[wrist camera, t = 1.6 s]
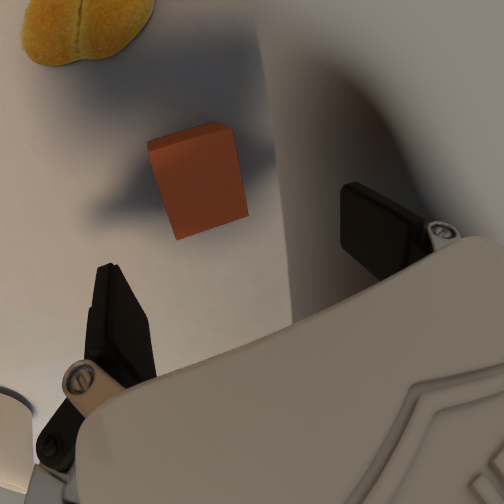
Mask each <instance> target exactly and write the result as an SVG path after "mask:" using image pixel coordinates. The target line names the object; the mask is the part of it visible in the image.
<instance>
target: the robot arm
mask: <svg viewBox="0 0 504 504" xmlns="http://www.w3.org/2000/svg"><path fill="white" fill-rule="evenodd" d="M340 209H341V210H340V211H341V212H340V219H341V220H340V221H341V222H340V223H341V224H340V243H341V246H342V248H343V249H344V250H345V251H346V252H347V253H349V254H350V255H351V256H352V257H353V258H354V259H355V260H357V261H358V262H359V263H360V264H361V265H363V266H364V267H365V268H366V269H367V270H368V271H369V272H370V273H372V274H373V275H374V276H375V277H376V278H377V279H378V280H379V281H380V282H379V283H377V284H375V285H373V286H371V287H369V288H367V289H365V290H363V291H361V292H359V293H358V294H356V295H354V296H352V297H350V298H348V299H345V300H344V301H341V302H339V303H337V304H335V305H333V306H331V307H329V308H327V309H325V310H323V311H321V312H319V313H316V314H314V315H312V316H310V317H308V318H305V319H303V320H301V321H299V322H297V323H294V324H292V325H290V326H288V327H285V328H283V329H281V330H278V331H276V332H274V333H271V334H269V335H267V336H264V337H262V338H260V339H257V340H255V341H252V342H250V343H247V344H245V345H242V346H240V347H237V348H235V349H232V350H229V351H227V352H224V353H222V354H219V355H216V356H214V357H211V358H208V359H206V360H203V361H200V362H197V363H195V364H192V365H189V366H186V367H183V368H181V369H178V370H175V371H172V372H169V373H167V374H164V375H161V376H158V377H157V376H156V370H155V364H154V358H153V351H152V345H151V338H150V330H149V323H148V319H147V317H146V314H145V313H144V311H143V309H142V308H141V306H140V304H139V302H138V301H137V299H136V297H135V295H134V293H133V292H132V290H131V288H130V286H129V284H128V282H127V281H126V279H125V277H124V275H123V273H122V271H121V269H120V267H119V266H118V265H113V264H112V263H109V264H106V265H103V266H101V267H98V269H97V273H96V279H95V285H94V292H93V299H92V307H90V308H89V312H88V320H87V329H86V340H85V353H84V360H79V361H77V362H75V363H74V364H72V365H71V366H70V367H69V368H68V370H67V371H66V372H65V375H64V377H63V381H62V388H63V392H64V394H65V395H66V397H67V398H66V399H65V400H64V402H63V403H62V404H61V406H60V407H59V408H58V410H57V411H56V412H55V414H54V415H53V416H52V418H51V419H50V420H49V422H48V423H47V425H46V426H45V427H44V429H43V430H42V432H41V433H40V435H39V437H38V439H37V442H36V453H37V457H38V458H39V460H40V463H39V465H38V464H36V463H35V465H34V469H33V472H32V475H31V478H30V482H29V485H28V489H27V493H26V497H25V501H24V504H504V246H503V245H502V244H501V243H499V242H497V241H496V240H494V239H492V238H490V237H486V236H473V237H466V238H463V239H461V237H460V235H459V232H458V231H457V229H456V228H454V227H453V226H451V225H450V224H447V223H444V222H439V221H437V222H436V221H435V222H431V223H429V224H428V226H427V230H426V229H424V228H423V227H424V221H425V219H423V218H422V217H420V216H418V215H417V214H415V213H413V212H411V211H410V210H408V209H406V208H404V207H403V206H401V205H399V204H398V203H396V202H394V201H392V200H390V199H388V198H386V197H385V196H383V195H381V194H379V193H378V192H376V191H374V190H372V189H369V188H368V187H366V186H364V185H362V184H360V183H358V182H352V183H348V184H345V185H344V186H343V188H342V189H341V191H340Z"/></svg>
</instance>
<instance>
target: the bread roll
mask: <svg viewBox="0 0 504 504" xmlns="http://www.w3.org/2000/svg"><path fill="white" fill-rule="evenodd" d="M154 3H155V0H31V2H30V4H29V6H28V9H26V10H25V16H24V19H23V24H22V29H21V34H20V47H21V49H22V50H24V51H25V52H26V53H27V55H28V57H29V58H30V59H31V60H32V61H34V62H35V63H37V64H41V65H47V66H59V65H64V64H67V63H71V62H74V61H76V60H81V59H103V58H107V57H110V56H112V55H114V54H116V53H117V52H119V51H120V50H121V49H123V48H124V47H125V46H126V45H127V44H128V43H129V42H130V41H131V40H132V39H133V38H134V37H135V36H136V35H137V34H138V33H139V32H140V31H141V29H142V28H143V27H144V25H145V24H146V22H147V21H148V19H149V18H150V16H151V14H152V11H153V8H154Z"/></svg>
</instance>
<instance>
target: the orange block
mask: <svg viewBox="0 0 504 504" xmlns="http://www.w3.org/2000/svg"><path fill="white" fill-rule="evenodd" d="M148 154H149V158H150V161H151V164H152V168H153V171H154V174H155V178H156V181H157V184H158V187H159V190H160V193H161V196H162V199H163V202H164V206H165V209H166V211H167V214H168V217H169V220H170V223H171V226H172V229H173V232H174V235H175V237H176V240H179V239H182V238H185V237H188V236H191V235H194V234H196V233H199V232H202V231H205V230H208V229H211V228H214V227H217V226H220V225H223V224H226V223H229V222H232V221H235V220H238V219H241V218H244V217H247V216H249V214H248V209H247V203H246V198H245V193H244V187H243V182H242V177H241V172H240V166H239V161H238V156H237V151H236V145H235V140H234V135H233V130H232V128H231V127H228V126H225V125H222V124H219V123H216V122H214V123H210V124H206V125H202V126H199V127H195V128H191V129H188V130H184V131H181V132H178V133H174V134H171V135H168V136H164V137H161V138H158V139H155V140H152V141H149V142H148Z"/></svg>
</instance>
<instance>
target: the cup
mask: <svg viewBox="0 0 504 504" xmlns="http://www.w3.org/2000/svg"><path fill="white" fill-rule="evenodd" d="M33 469H34V460H33V433H32V413H31V411H30V410H29V409H28V408H27V407H26V406H25V405H24V404H22V403H21V402H19V401H18V400H16V399H14V398H12V397H10V396H7V395H4V394H1V393H0V486H2V487H4V488H7V489H10V490H13V491H16V492H20V493H24V494H26V493H27V489H28V485H29V482H30V478H31V475H32V472H33Z"/></svg>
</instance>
